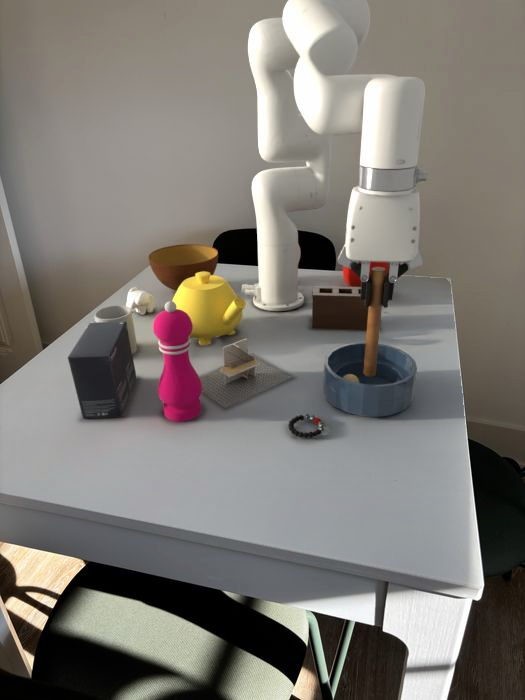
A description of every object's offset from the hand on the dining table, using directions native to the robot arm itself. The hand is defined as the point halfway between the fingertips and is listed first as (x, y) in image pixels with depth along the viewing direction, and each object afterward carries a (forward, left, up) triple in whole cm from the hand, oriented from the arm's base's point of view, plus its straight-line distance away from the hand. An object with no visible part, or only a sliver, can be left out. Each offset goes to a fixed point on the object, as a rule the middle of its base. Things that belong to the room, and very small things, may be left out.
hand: (375, 303), depth 79 cm
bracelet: (-10, -8, -19) cm, 23 cm away
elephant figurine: (-52, +35, -19) cm, 66 cm away
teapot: (-32, +24, -19) cm, 44 cm away
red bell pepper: (+2, +56, -19) cm, 59 cm away
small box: (-45, -2, -19) cm, 49 cm away
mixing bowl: (0, +3, -19) cm, 19 cm away
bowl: (-45, +50, -19) cm, 70 cm away
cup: (-51, +14, -19) cm, 56 cm away
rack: (-4, +32, -19) cm, 37 cm away
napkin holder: (-23, +6, -19) cm, 30 cm away
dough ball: (-4, +3, -18) cm, 18 cm away
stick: (0, 0, -13) cm, 13 cm away
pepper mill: (-31, -5, -19) cm, 36 cm away
